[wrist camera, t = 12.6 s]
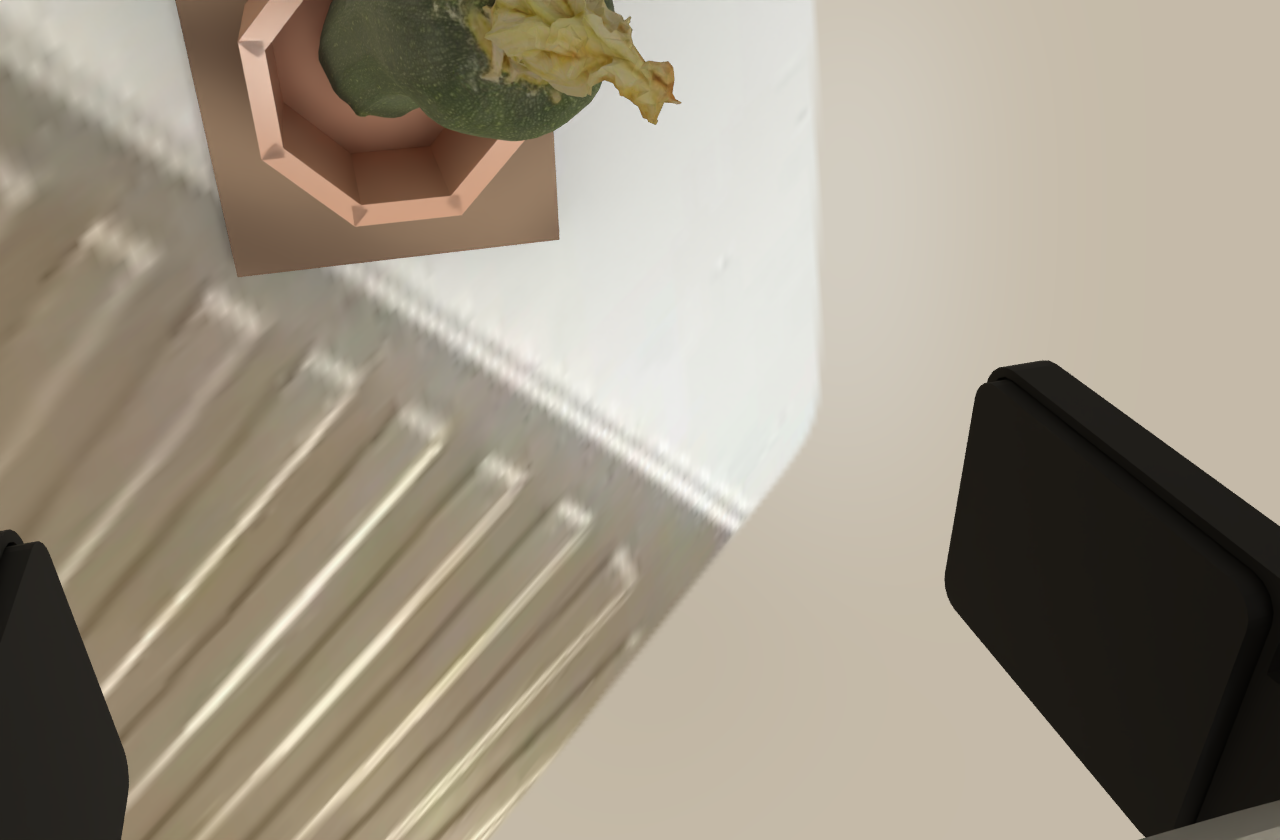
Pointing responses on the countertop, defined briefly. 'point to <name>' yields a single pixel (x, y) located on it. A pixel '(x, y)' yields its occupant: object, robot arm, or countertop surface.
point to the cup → (351, 130)
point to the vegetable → (486, 62)
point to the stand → (303, 226)
